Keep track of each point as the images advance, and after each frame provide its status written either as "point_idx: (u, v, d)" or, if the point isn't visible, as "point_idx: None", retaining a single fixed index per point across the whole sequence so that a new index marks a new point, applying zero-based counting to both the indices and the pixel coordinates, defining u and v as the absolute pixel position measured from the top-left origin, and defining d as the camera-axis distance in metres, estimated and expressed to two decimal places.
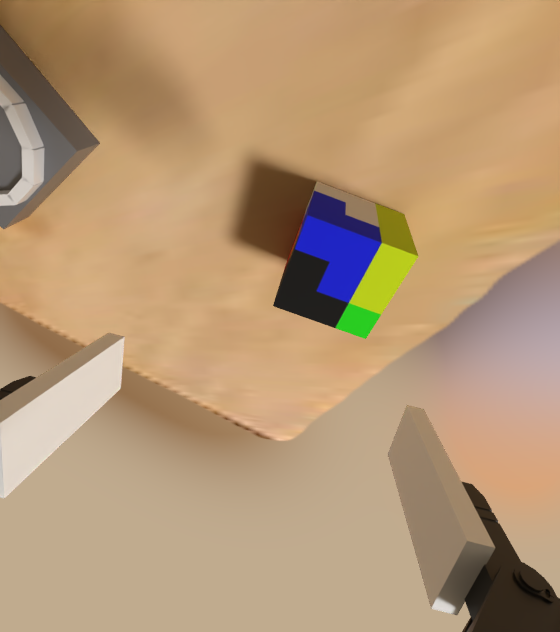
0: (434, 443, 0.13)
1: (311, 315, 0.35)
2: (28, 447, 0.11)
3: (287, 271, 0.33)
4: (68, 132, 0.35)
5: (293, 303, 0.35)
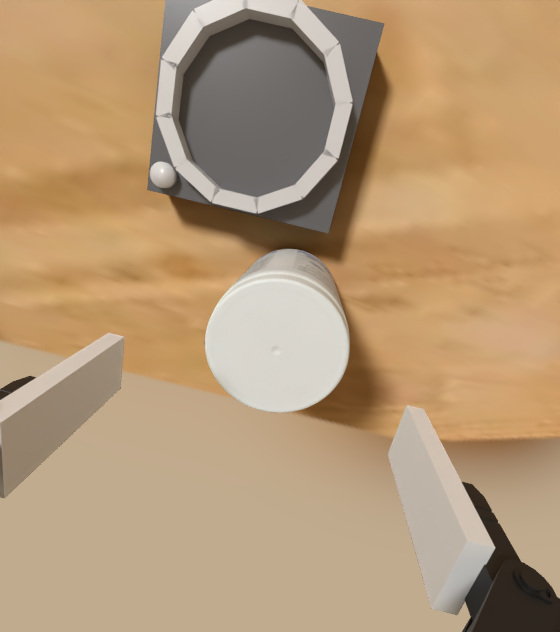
0: (434, 443, 0.13)
1: None
2: (28, 447, 0.11)
3: None
4: None
5: None
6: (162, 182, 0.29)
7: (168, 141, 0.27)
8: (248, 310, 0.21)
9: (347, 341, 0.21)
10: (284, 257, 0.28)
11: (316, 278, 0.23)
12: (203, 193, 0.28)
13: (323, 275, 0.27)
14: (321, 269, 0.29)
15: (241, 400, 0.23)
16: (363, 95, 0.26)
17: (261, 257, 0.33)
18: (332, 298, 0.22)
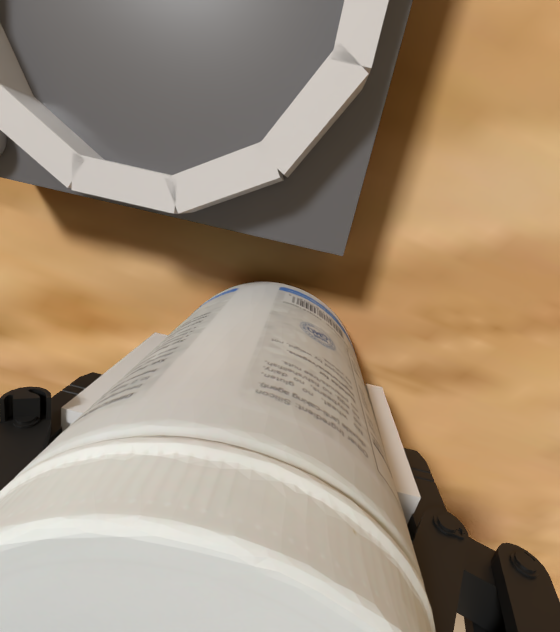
0: (385, 415, 0.14)
1: None
2: None
3: None
4: None
5: None
6: None
7: None
8: (29, 626, 0.05)
9: None
10: (239, 319, 0.12)
11: (317, 429, 0.07)
12: (49, 167, 0.12)
13: (335, 372, 0.10)
14: (329, 342, 0.12)
15: None
16: None
17: (208, 300, 0.17)
18: (380, 542, 0.06)
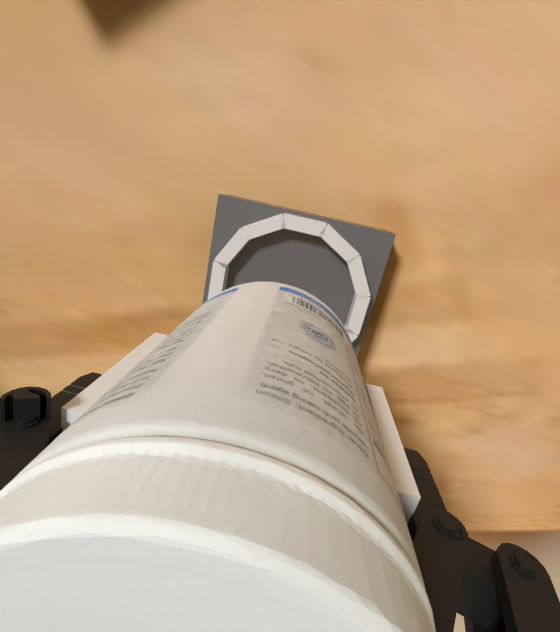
0: (385, 415, 0.14)
1: None
2: None
3: None
4: None
5: None
6: None
7: None
8: (30, 626, 0.05)
9: None
10: (239, 319, 0.12)
11: (317, 429, 0.07)
12: None
13: (335, 372, 0.10)
14: (329, 342, 0.12)
15: None
16: (378, 283, 0.32)
17: (208, 300, 0.17)
18: (380, 542, 0.06)
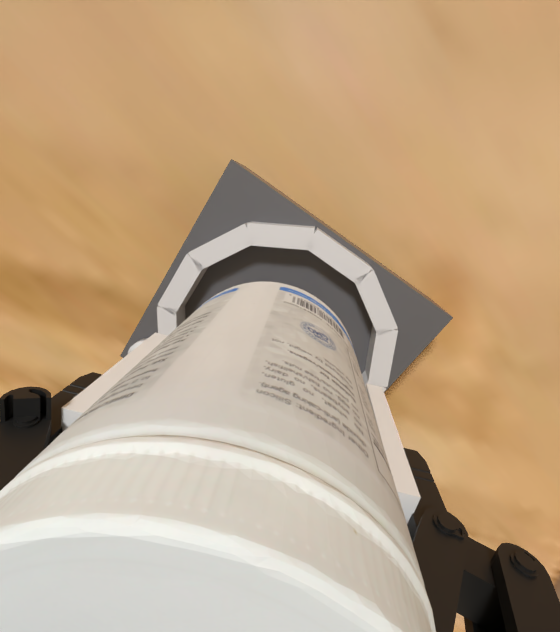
0: (385, 415, 0.14)
1: None
2: None
3: None
4: None
5: None
6: None
7: None
8: (31, 625, 0.05)
9: None
10: (240, 318, 0.12)
11: (317, 429, 0.07)
12: None
13: (335, 372, 0.10)
14: (329, 342, 0.12)
15: None
16: (401, 371, 0.23)
17: (208, 300, 0.17)
18: (381, 542, 0.06)
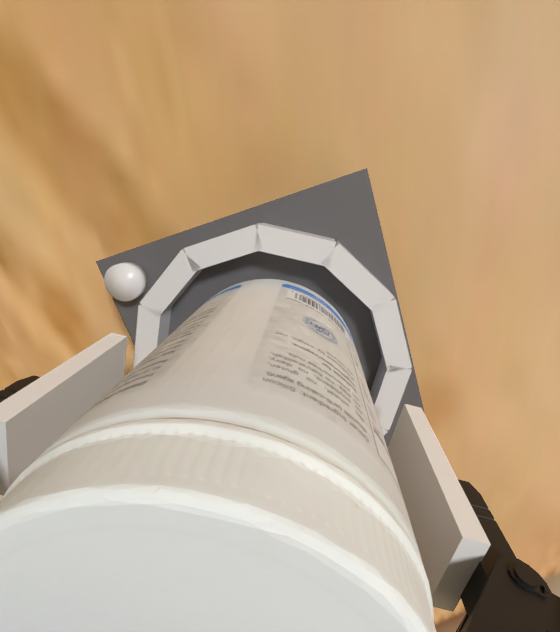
0: (431, 441, 0.13)
1: None
2: (33, 446, 0.11)
3: None
4: None
5: None
6: (114, 288, 0.19)
7: (164, 281, 0.18)
8: (56, 590, 0.05)
9: None
10: (244, 313, 0.12)
11: (320, 414, 0.07)
12: (136, 355, 0.19)
13: (337, 364, 0.11)
14: (330, 337, 0.13)
15: None
16: None
17: (212, 297, 0.17)
18: (380, 516, 0.06)
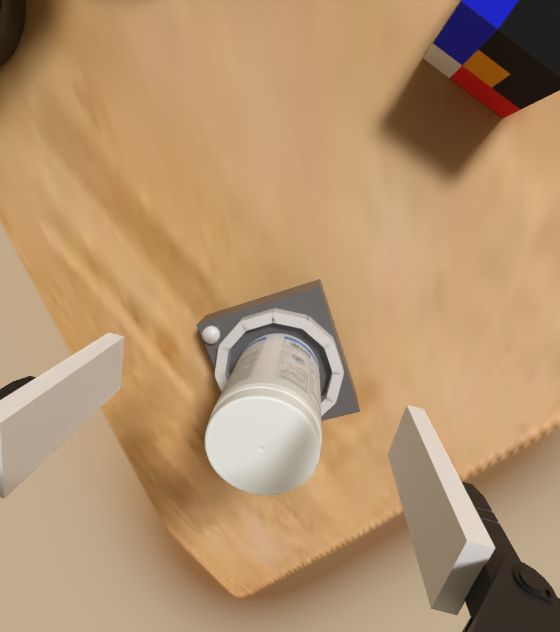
0: (434, 443, 0.13)
1: None
2: (28, 447, 0.11)
3: (525, 48, 0.25)
4: (304, 289, 0.39)
5: None
6: (206, 338, 0.40)
7: (231, 335, 0.39)
8: (238, 419, 0.27)
9: (317, 442, 0.27)
10: (270, 354, 0.33)
11: (293, 385, 0.29)
12: (216, 368, 0.41)
13: (302, 372, 0.32)
14: (302, 361, 0.34)
15: (235, 486, 0.29)
16: (322, 419, 0.43)
17: (253, 342, 0.39)
18: (305, 406, 0.27)
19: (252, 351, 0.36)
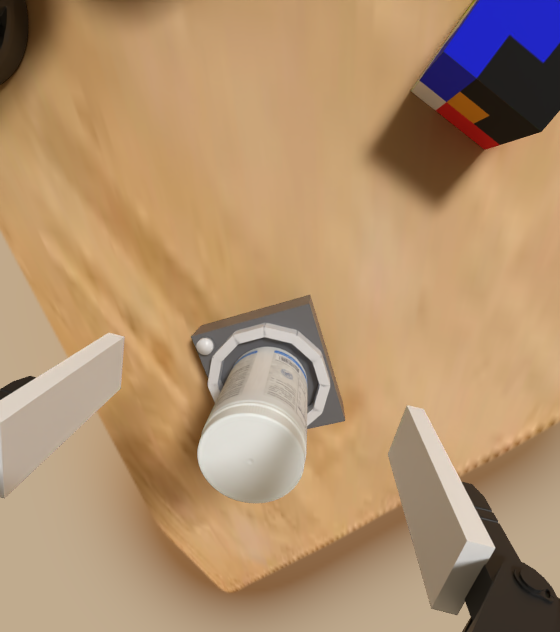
0: (434, 443, 0.13)
1: None
2: (28, 447, 0.11)
3: (501, 96, 0.27)
4: (294, 305, 0.41)
5: (549, 101, 0.27)
6: (200, 349, 0.42)
7: (224, 348, 0.41)
8: (229, 434, 0.29)
9: (302, 456, 0.29)
10: (260, 369, 0.35)
11: (281, 402, 0.31)
12: (209, 378, 0.43)
13: (290, 387, 0.34)
14: (290, 376, 0.36)
15: (225, 494, 0.31)
16: (309, 427, 0.45)
17: (245, 355, 0.41)
18: (291, 422, 0.30)
19: (243, 365, 0.38)
